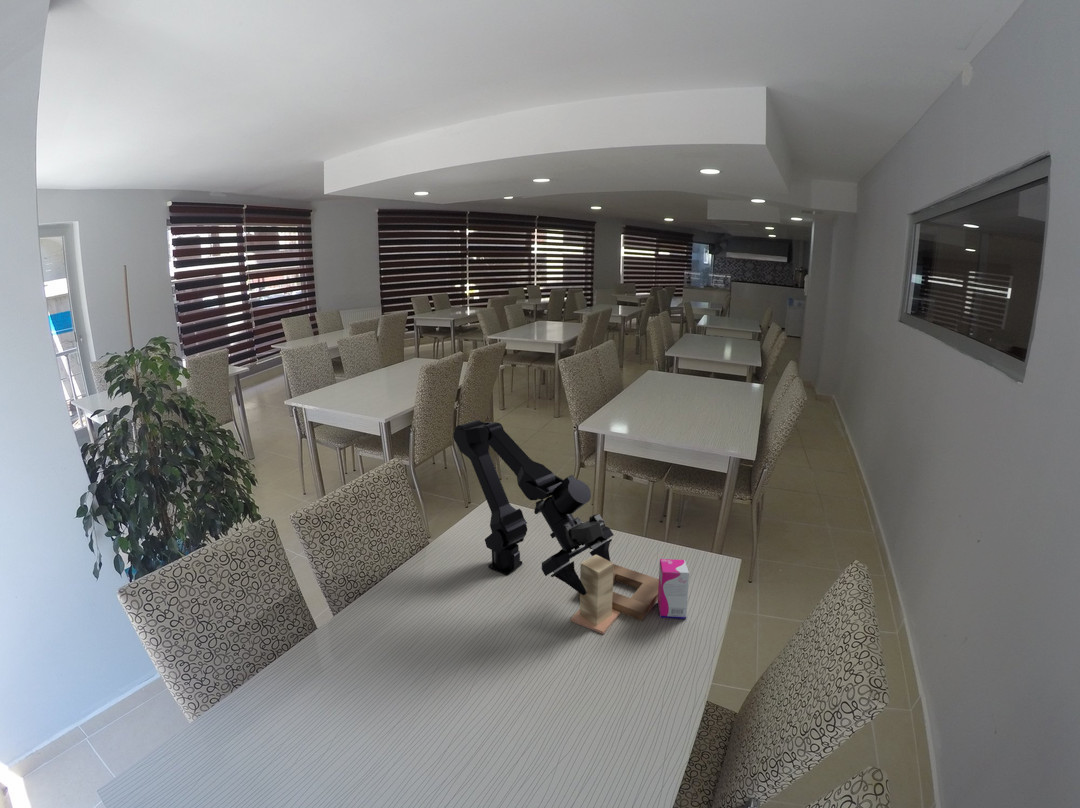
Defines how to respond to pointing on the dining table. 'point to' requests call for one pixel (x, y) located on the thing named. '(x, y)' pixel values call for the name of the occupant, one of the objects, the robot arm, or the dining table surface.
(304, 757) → the dining table surface
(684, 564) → the supplement box
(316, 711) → the dining table surface
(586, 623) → the terracotta tile
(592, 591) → the maple block
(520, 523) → the robot arm
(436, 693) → the dining table surface
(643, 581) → the pocket board
